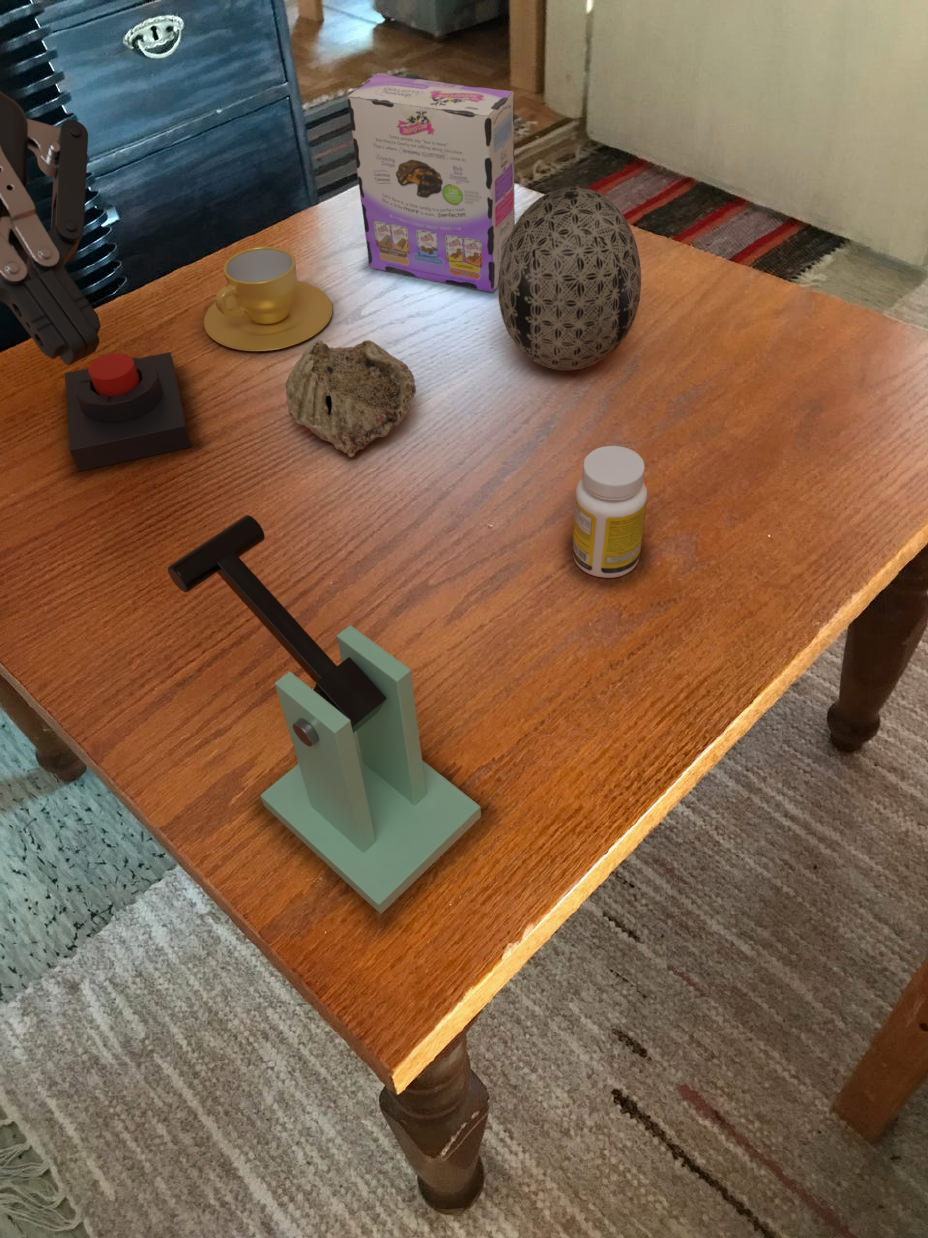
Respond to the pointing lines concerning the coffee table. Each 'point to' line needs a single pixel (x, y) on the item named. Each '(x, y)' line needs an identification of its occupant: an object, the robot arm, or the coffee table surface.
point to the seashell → (349, 393)
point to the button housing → (126, 416)
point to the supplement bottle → (609, 512)
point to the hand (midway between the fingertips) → (84, 353)
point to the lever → (278, 619)
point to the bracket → (366, 782)
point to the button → (113, 374)
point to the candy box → (435, 177)
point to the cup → (265, 303)
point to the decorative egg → (569, 279)
